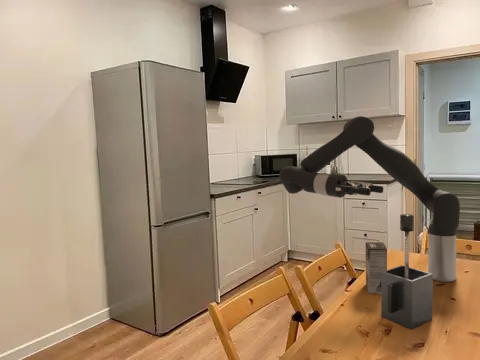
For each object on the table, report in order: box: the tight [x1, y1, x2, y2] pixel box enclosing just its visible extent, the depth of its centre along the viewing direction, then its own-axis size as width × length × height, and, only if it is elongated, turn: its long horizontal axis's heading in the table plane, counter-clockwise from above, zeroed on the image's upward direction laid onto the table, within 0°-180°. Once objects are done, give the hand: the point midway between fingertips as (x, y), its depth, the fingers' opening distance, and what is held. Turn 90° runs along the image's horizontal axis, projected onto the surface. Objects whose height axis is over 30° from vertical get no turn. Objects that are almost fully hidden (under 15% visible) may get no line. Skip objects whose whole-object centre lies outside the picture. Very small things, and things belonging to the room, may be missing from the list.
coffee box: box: [365, 241, 388, 294], centre depth 134 cm, size 9×6×16 cm
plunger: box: [399, 213, 415, 280], centre depth 110 cm, size 8×8×21 cm
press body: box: [380, 264, 434, 331], centre depth 110 cm, size 13×10×14 cm
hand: (376, 190), depth 115 cm, fingers open, 8 cm apart
